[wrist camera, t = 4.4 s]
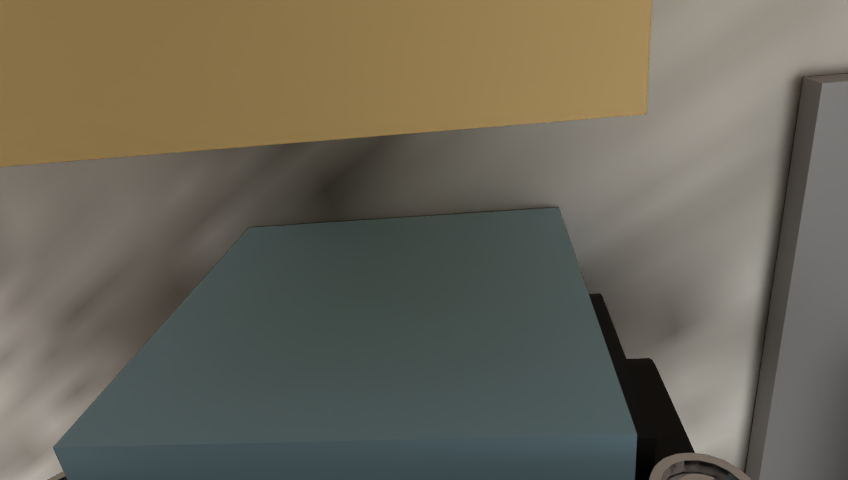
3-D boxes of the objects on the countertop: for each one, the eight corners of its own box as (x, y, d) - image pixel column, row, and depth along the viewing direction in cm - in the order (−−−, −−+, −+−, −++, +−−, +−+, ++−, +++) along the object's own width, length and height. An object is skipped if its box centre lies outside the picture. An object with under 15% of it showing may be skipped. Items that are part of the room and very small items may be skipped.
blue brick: (248, 227, 12) (52, 447, 6) (558, 207, 11) (636, 434, 6) (304, 460, 14) (195, 765, 9) (561, 455, 14) (618, 782, 8)
